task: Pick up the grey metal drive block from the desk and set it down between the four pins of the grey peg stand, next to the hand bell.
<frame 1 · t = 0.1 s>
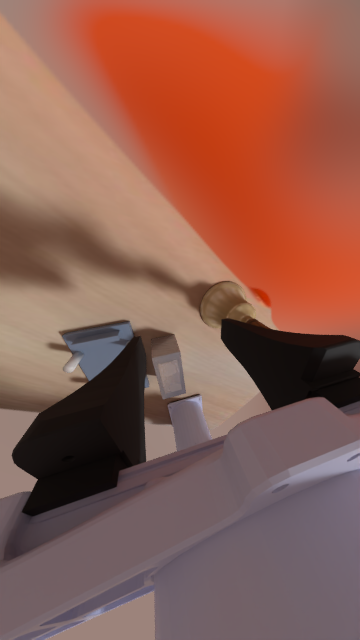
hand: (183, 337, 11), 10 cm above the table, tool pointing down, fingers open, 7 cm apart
drive: (166, 356, 25), on the table
grey peg stand: (114, 362, 23), on the table
hand bell: (222, 305, 23), on the table
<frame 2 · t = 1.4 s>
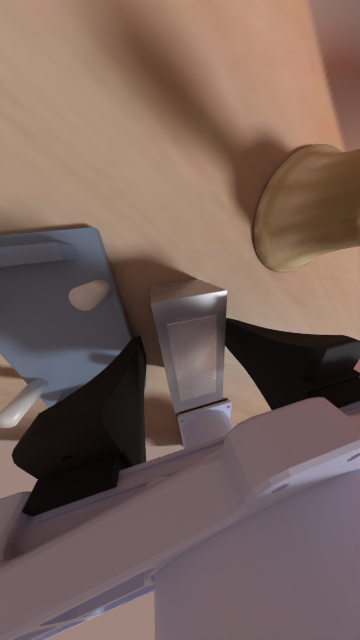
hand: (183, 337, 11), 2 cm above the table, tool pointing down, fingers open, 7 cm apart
drive: (179, 328, 13), on the table
grey peg stand: (73, 335, 11), on the table
hand bell: (295, 220, 11), on the table
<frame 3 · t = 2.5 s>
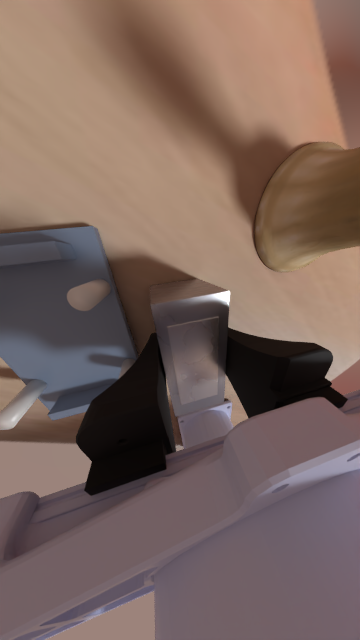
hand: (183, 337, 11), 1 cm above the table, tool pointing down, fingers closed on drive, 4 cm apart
drive: (180, 329, 13), on the table, touching gripper
grey peg stand: (72, 335, 11), on the table
hand bell: (296, 219, 11), on the table
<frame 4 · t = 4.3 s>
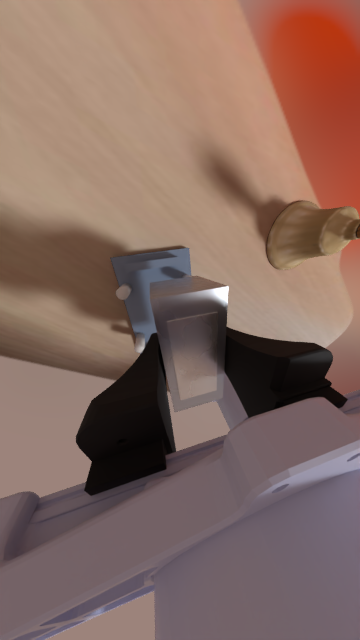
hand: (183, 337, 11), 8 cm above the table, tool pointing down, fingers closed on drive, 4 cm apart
drive: (179, 326, 13), point 7 cm above the table, touching gripper
grey peg stand: (161, 307, 19), on the table
hand bell: (291, 239, 19), on the table
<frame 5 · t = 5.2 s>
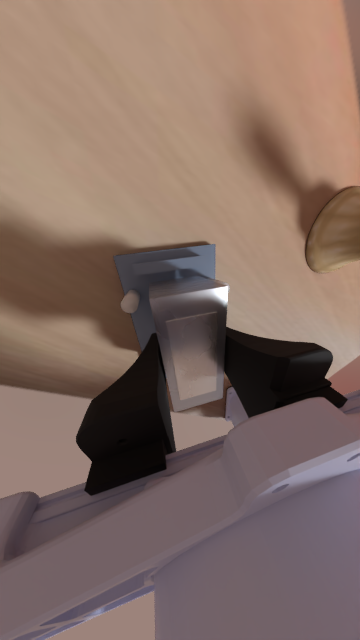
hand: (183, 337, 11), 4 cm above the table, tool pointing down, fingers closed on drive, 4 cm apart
drive: (179, 326, 13), point 3 cm above the table, touching gripper
grey peg stand: (175, 318, 15), on the table
hand bell: (335, 235, 15), on the table
when the fingers open (4 cm above the table, at t = 6.1 s): drive drops 1 cm, resting on grey peg stand.
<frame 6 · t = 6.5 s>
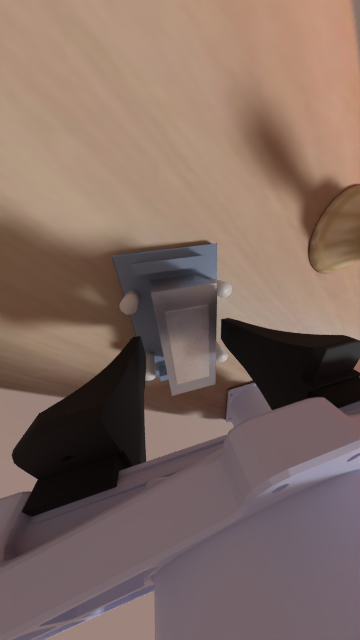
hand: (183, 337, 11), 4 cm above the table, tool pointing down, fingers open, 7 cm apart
drive: (177, 320, 14), point 1 cm above the table, touching grey peg stand
grey peg stand: (175, 319, 15), on the table
hand bell: (338, 234, 15), on the table
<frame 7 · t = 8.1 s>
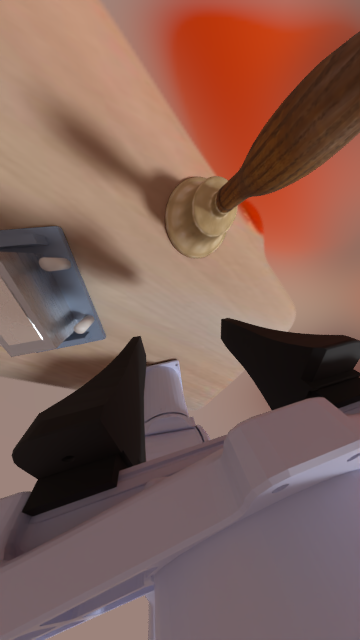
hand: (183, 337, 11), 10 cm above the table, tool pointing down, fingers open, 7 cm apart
drive: (44, 297, 16), point 1 cm above the table, touching grey peg stand
grey peg stand: (49, 297, 17), on the table
hand bell: (197, 222, 17), on the table
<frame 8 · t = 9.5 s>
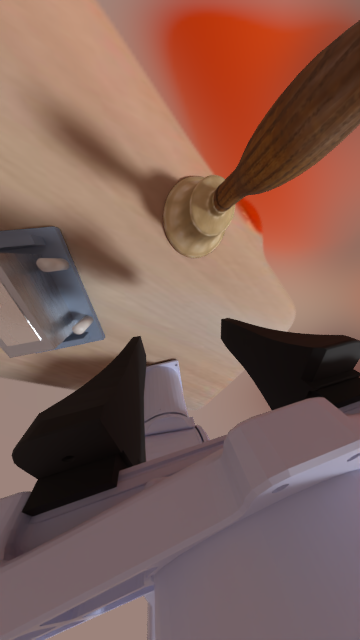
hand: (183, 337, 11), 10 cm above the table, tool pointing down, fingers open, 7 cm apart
drive: (43, 297, 16), point 1 cm above the table, touching grey peg stand
grey peg stand: (48, 297, 17), on the table
hand bell: (195, 222, 17), on the table
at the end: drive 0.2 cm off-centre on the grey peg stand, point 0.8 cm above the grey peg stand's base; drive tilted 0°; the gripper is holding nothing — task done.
